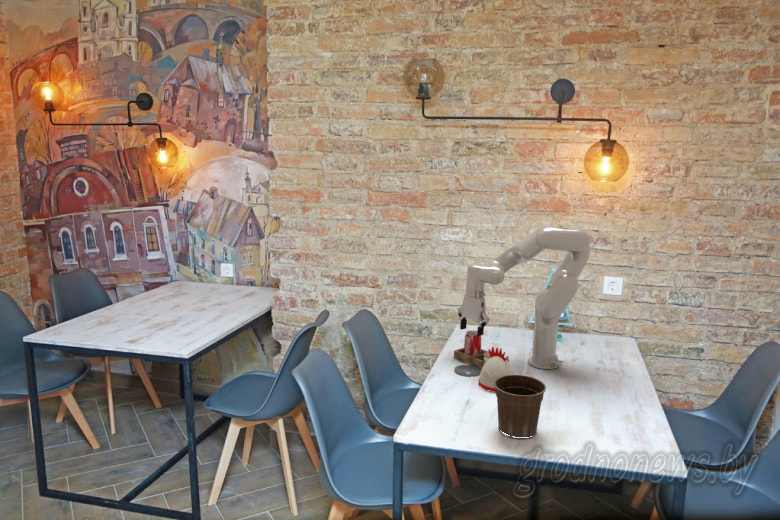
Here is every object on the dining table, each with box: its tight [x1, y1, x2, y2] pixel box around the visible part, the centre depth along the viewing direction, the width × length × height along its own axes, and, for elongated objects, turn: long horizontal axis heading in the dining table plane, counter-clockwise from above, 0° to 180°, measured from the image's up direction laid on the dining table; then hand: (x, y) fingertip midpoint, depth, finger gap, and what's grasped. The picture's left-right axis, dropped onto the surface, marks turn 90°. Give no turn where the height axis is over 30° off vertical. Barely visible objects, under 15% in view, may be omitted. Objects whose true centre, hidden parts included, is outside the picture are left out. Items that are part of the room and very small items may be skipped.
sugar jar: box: [484, 351, 491, 362], centre depth 249 cm, size 5×5×6 cm
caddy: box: [453, 347, 510, 370], centre depth 253 cm, size 21×11×4 cm, turn 40°
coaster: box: [453, 364, 481, 378], centre depth 244 cm, size 11×11×1 cm
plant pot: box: [494, 374, 547, 437], centre depth 194 cm, size 16×16×16 cm
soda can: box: [463, 329, 482, 357], centre depth 256 cm, size 7×7×12 cm
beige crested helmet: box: [478, 346, 515, 393], centre depth 230 cm, size 14×14×15 cm
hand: (471, 332), depth 254 cm, fingers open, 9 cm apart
